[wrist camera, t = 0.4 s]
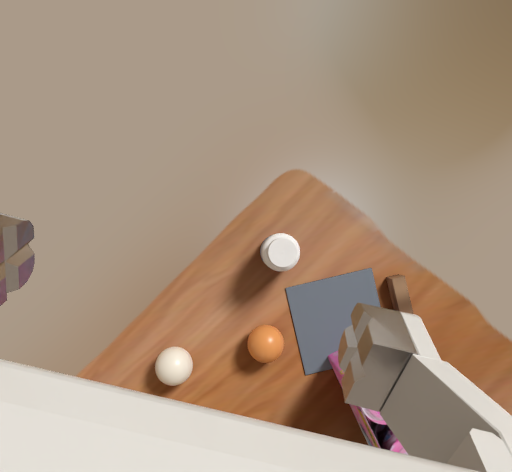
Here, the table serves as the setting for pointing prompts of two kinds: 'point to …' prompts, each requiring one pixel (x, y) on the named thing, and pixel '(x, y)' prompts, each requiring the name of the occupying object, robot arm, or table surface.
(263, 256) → the pill bottle
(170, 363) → the cue ball
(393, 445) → the gum box
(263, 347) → the object ball
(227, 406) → the table surface
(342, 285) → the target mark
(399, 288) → the brown wooden bar
